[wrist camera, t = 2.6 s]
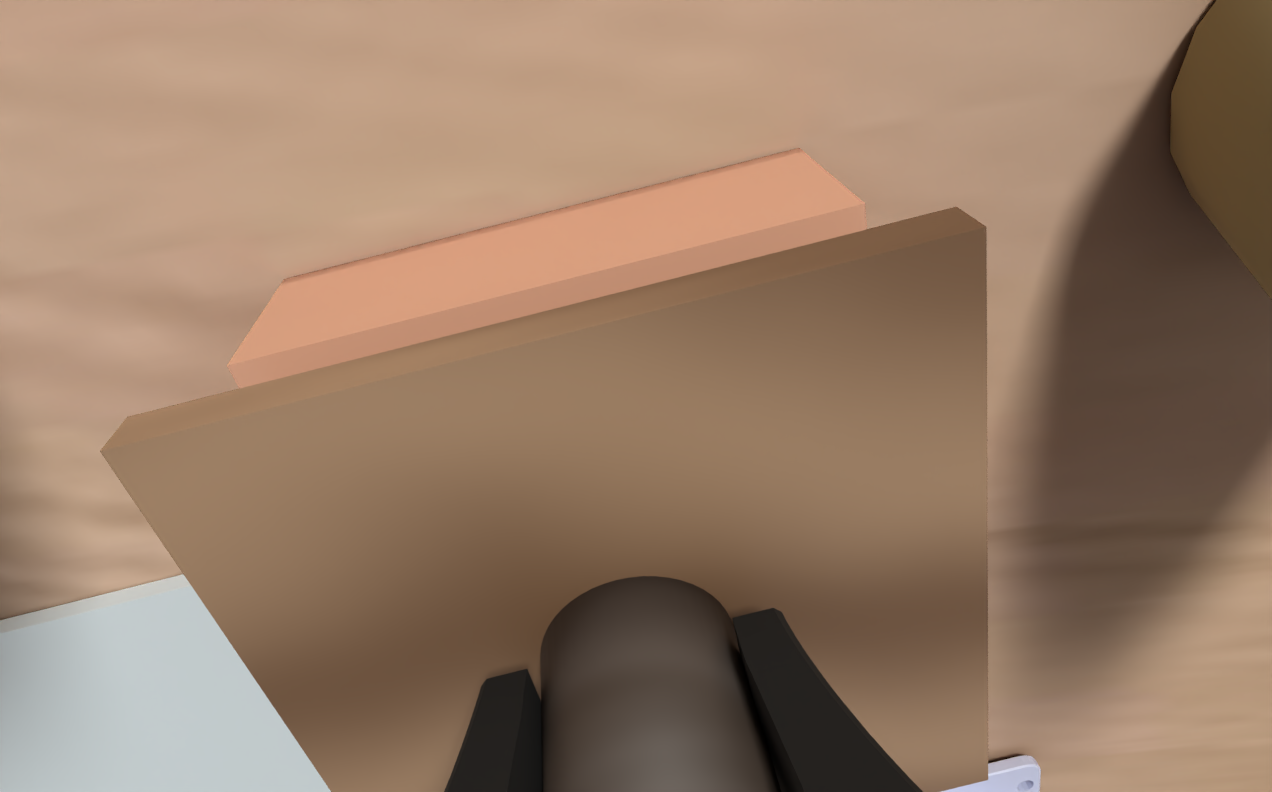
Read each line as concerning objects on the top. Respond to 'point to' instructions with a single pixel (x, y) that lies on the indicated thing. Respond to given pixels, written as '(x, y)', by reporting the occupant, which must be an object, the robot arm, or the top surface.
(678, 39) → the top surface
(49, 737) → the mat
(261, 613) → the lid
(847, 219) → the shallow cardboard tray
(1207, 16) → the squeeze bottle
